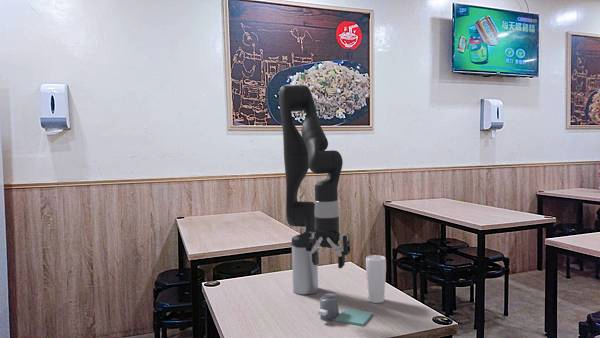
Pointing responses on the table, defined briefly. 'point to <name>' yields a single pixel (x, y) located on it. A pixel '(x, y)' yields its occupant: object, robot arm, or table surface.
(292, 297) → the table surface
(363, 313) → the mat
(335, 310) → the grey lobed figure
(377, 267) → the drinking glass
